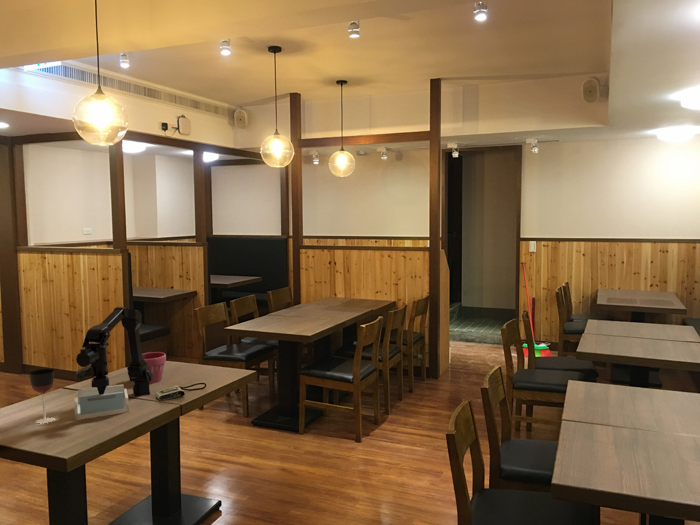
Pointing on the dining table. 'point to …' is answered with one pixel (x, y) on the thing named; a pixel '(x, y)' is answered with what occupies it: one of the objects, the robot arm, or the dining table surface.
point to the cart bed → (95, 392)
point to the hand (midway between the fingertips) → (101, 396)
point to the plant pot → (155, 364)
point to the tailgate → (101, 402)
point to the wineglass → (42, 387)
